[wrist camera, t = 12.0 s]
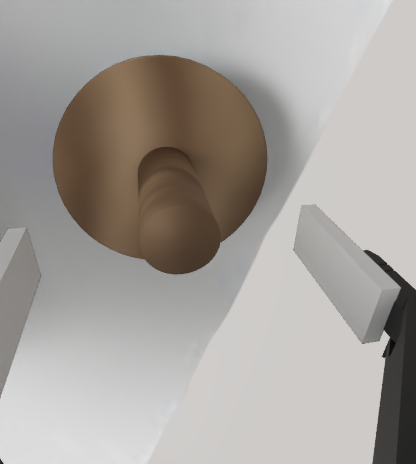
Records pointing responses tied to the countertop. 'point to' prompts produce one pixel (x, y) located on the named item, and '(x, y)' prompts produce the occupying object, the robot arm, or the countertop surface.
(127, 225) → the lid
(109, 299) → the countertop surface
